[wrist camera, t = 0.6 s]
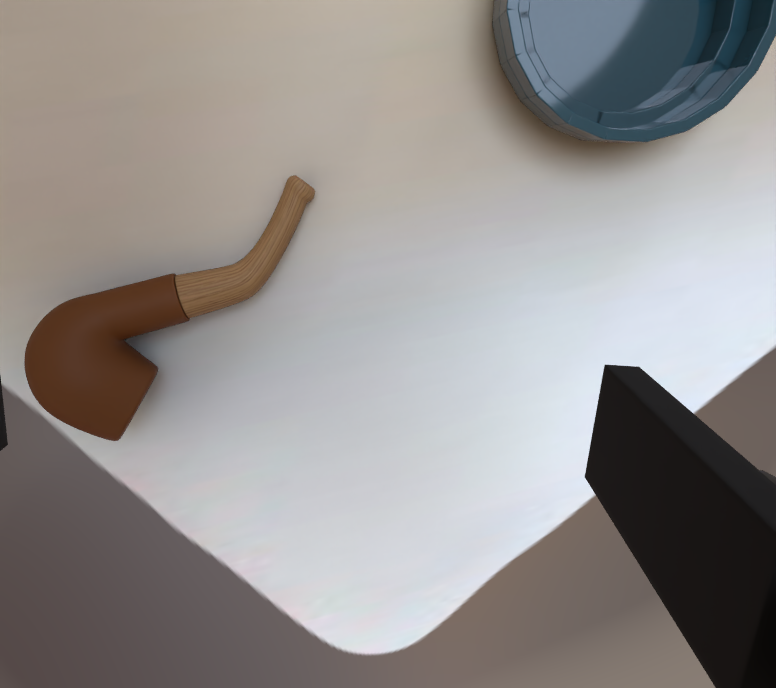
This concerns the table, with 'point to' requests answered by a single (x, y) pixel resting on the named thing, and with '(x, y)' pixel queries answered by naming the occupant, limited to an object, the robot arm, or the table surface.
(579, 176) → the table surface
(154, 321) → the pipe
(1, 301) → the table surface
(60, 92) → the table surface
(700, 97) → the bowl
